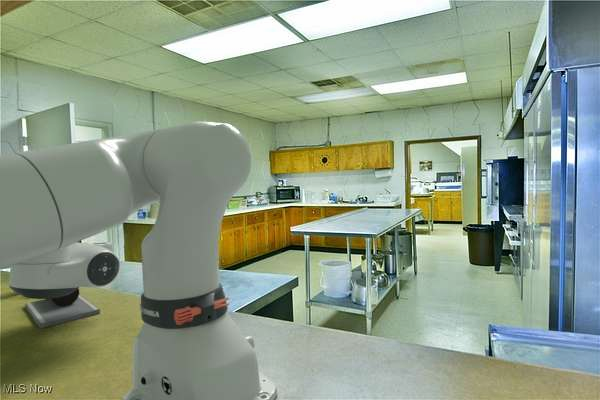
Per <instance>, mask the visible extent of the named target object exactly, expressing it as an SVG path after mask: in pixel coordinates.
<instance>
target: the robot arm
mask: <svg viewBox="0 0 600 400" xmlns="http://www.w3.org/2000/svg"><path fill="white" fill-rule="evenodd" d="M251 156H252V155H251V150H250V147H249V145H248V142H247V140H246V138H245V136H243V133H241V132H240V130H238V129H237V128H236V127H234V126H233V125H231V124H229V123H223V122H215V121H193V122H188V123H183V124H182V123H181V124H177V125H173V126H168V127H162V128H157V129H153V130H147V131H141V132H136V133H131V134H125V135H117V136H111V137H105V138H99V139H98V138H97V139H90V140H89V139H88V140H84V141H83V140H82V141H78V142H73V143H66V144H59V145H55V146H49V147H48V146H47V147H42V148H41V147H40V148H36V149H31V150H30V149H29V150H24V151H17V152H13V153H7V154H1V155H0V270H3V269H6V268H8V267H9V281H8V282H9V283H8V287H9V288H10V289H11V290H12V291H13V292H14V293H15V294H18V295H19V296H22V297H24V298H27V299H34V300H44V299H51V298H58V297H62V296H66V295H69V294H70V293H72V292H74V291H75V290H77V289H79V288H82V287H83V288H103V287H105V286H106V287H107V286H108V285H110V284H111V283H112V282H113V281H115V279H116V277H117V276H118V274H119V272H120V260H119V258H118V255H116V253H115V252H114V246H113V243H112V242H109V241H108V242H94V243H93V242H92V243H91V242H90V243H89V242H81V241H84V240H86V239H88V238H91V237H94V236H96V235H99V234H101V233H103V232H107V231H108V230H111V229H113V228H116V227H119V226H121V225H122V224H124V223H125V222H126V221H127V220H128V219H129V218H130V216H131V215H133V214H134V213H137V212H138V211H140V210H141V209H143V208H146V207H149V206H150V205H153V204H157V203H159V207H158V211H157V214H156V219H155V222H154V224H153V226H152V228H151V230H150V231H149V232H148V233H147V234H146V235H145V237H143V238H142V239H143V240H142V241H141V267H142V270H141V271H142V286H143V292H142V294H141V295H140V303H139V308H140V309H139V310H140V313H141V315H140V316H141V321H143V322H142V323H143V324H142V326H141V329H140V331H139V332H138V334H137V336H136V337H135V338H134V340H133V342H132V367H131V368H132V369H131V370H132V371H131V372H132V374H131V375H132V377H131V378H132V382H131V383H132V384H131V385H132V386H131V388H130V390H128V391H127V392H126V393H125V394H124V395H123V396H122V398H121V399H122V400H275V399H276V397H277V395H278V389H277V385H276V384H275V383H274V382H273V381H272V380H271V379H269V378H268V377H267V376H266V375H265V374H264V373H263V372H262V371H261V370H259V364H258V357H257V353H256V351H255V342H254V339H253V337H252V336H251V335H246V336H244V334H243V332H242V331H241V329H240V328H239V327H238V325H237V323H236V322H235V321H234V320H233V319H232V318H231V316H230V313H229V312H228V309H229V307H228V306H229V305H230V303H229V302H228V303H227V301H228V300H230V297H226V293H225V292H224V288H223V285H222V284H221V283H220V270H219V269H220V267H219V266H220V265H219V263H220V261H219V259H220V258H219V237H220V232H221V227H222V222H223V219H224V216H225V213H226V210H227V208H228V205H229V204H230V202H231V200H232V198H233V197H234V196H235V194H236V193H237V192H238V191H239V190H240V189H241V188H242V187H243V186H244V185H245V183H246V182H247V180H248V177H249V175H250V172H251V168H252V167H251V166H252V157H251Z"/></svg>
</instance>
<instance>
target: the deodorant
mask: <svg viewBox="0 0 600 400" xmlns="http://www.w3.org/2000/svg"><path fill="white" fill-rule="evenodd" d="M79 294H80V289H79V288H78V289H77V290H75V291H74V292H72V293H70V294H69V295H66V296H62V297H58V298H51V300H52V301H53V302H54V303H55V304H56V305H59V306H68V305H70V304H72V303H74V302H75V301H76V300H77V298H78V296H79Z"/></svg>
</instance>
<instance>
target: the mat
mask: <svg viewBox="0 0 600 400" xmlns="http://www.w3.org/2000/svg"><path fill="white" fill-rule="evenodd" d="M24 307H25V309H26V310H27V313H28V314H29V315H30V316H31V317H33V318H32V319H33V320H34V322H35V324H36V325H37V326H38V328H39V329H44V328H47V327H52V326H55V325H58V324H63V323H68V322H70V321H75V320H79V319H83V318H87V317H90V316H94V315H98V314H100V313H101V309H100V308H99V307H98V306H96V305H95V304H93V303H92V302H91V301H89V300H88V299H87V298H86V297H84V296H82V295H81V294H80V293H79V296H78V298H77V300H76V301H75V302H74V303H72V304H70V305H68V306H59V305H56V304H55V303H54V302H53V301H52V300H51V299H38V300H37V301H32V302H30V301H28V302H26V303H24Z"/></svg>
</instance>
